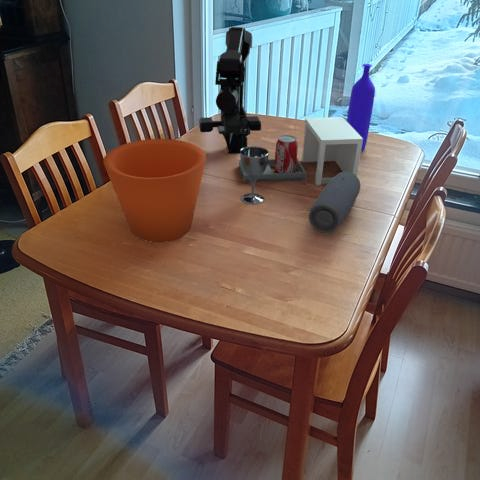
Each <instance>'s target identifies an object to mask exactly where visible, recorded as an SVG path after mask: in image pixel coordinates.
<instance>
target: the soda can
mask: <svg viewBox="0 0 480 480" xmlns="http://www.w3.org/2000/svg"><path fill="white" fill-rule="evenodd" d="M275 143H276V144H275V152H274V153H275V155H274V159H275V167H274V171H275V173H296V171H297V169H296V162H297V158H298V152H299V151H298V150H299V149H298V148H299V144H298V141H297V137H295V135H294V136H293V135H290V134H285V135H284V134H283V135H280V136H279V137H278V139H277V141H276V142H275Z"/></svg>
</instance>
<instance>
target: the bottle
mask: <svg viewBox="0 0 480 480" xmlns="http://www.w3.org/2000/svg"><path fill="white" fill-rule="evenodd" d="M362 66H363V72H362V76H361V77H360V78H359V79H358V80H357V81H356V82H355V83H354V84H353V85H352V88H351V93H350V96H349V98H350V99H349V104H348V110H347V116H346V121H347V122H348V123H349V124H350V125H351V126H352V128H353V129H354V130H355V131H356V132H357V133H358V134H359V135H360V136H361V137H362V138H363V143H362V149H361V152H363V151H364V150H365V149H366V146H367V142H368V136H369V132H370V125H371V120H372V114H373V107H374V101H375V95H376V93H375V92H376V87H375V84H374V83H373V81H372V80H371V78H370V69H371V68H372V67H373V65H372V64H371V63H362Z"/></svg>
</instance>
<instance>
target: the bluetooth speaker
mask: <svg viewBox="0 0 480 480" xmlns="http://www.w3.org/2000/svg"><path fill="white" fill-rule="evenodd" d="M360 190H361V181H360V179H359V177H358V175H357V176H356V175H355V174H353V173H351V172H347V171H344V172H343V171H341V172H338V173H337V174H336V175H334V178H333V179H332V180H331V181H330V182H329V183H326V186H325V187H324V188H323V189H322V191H321V192H320V194H319V195H318V197H317V198H316V199H315V200H314V201H315V202H314V203H313V204H312V206H311V209H310V210H309V213H308V221H309V223H310V225H311V227H312V228H313V229H314V230H316V231H318V232H321V233H325V234H330V233H333V232H334V231H336V230H337V229H338V228H339V227H340V226H341V224H342V223H343V222H344V220H345V219H346V217H347V216H348V215H349V213H350V212H351V210H352V208H353V206H354V204H355V203H356V199H357V198H358V195H359V193H360Z"/></svg>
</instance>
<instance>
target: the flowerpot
mask: <svg viewBox="0 0 480 480" xmlns="http://www.w3.org/2000/svg"><path fill="white" fill-rule="evenodd" d="M206 160H207V155H206V152H205V151H204V150H203V149H202V148H200V147H199V146H198V145H196V144H194V143H191V142H186V141H183V140H179V139H169V138H153V139H151V138H150V139H143V140H142V139H141V140H136V141H130V142H127V143H124V144H121V145H119V146H116V147H115V148H113V149H111V150H109V151H108V152H107V153H106V154H105V156H104V158H103V162H102V163H103V166H104V167H105V170H106V172H107V175H108V177H109V181H110V183H111V185H112V188H113V190H114V192H115V194H116V197H117V200H118V202H119V204H120V207H121V210H122V213H123V214H124V217H125V220H126V222H127V224H128V227H129V229H130V231H131V234H132V233H133V234H134V235H135V236H137V237H139V238H141V239H144V240H147V241H146V242H148V241H152V242H151V243H167V242H166V241H168V242H172V241H175V240H178V239H180V238H182V237H184V236H185V235H187V234H188V233H189V232H190V229H191V228H192V223H193V219H194V214H195V210H196V206H197V201H198V196H199V192H200V188H201V183H202V180H203V179H202V178H203V173H204V169H205V167H206V166H205V165H206ZM133 234H132V235H133ZM134 235H133V236H134ZM135 236H134V237H135ZM137 237H136V238H137ZM139 238H138V239H139ZM141 239H140V240H141ZM144 240H143V241H144ZM171 240H172V241H171Z"/></svg>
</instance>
